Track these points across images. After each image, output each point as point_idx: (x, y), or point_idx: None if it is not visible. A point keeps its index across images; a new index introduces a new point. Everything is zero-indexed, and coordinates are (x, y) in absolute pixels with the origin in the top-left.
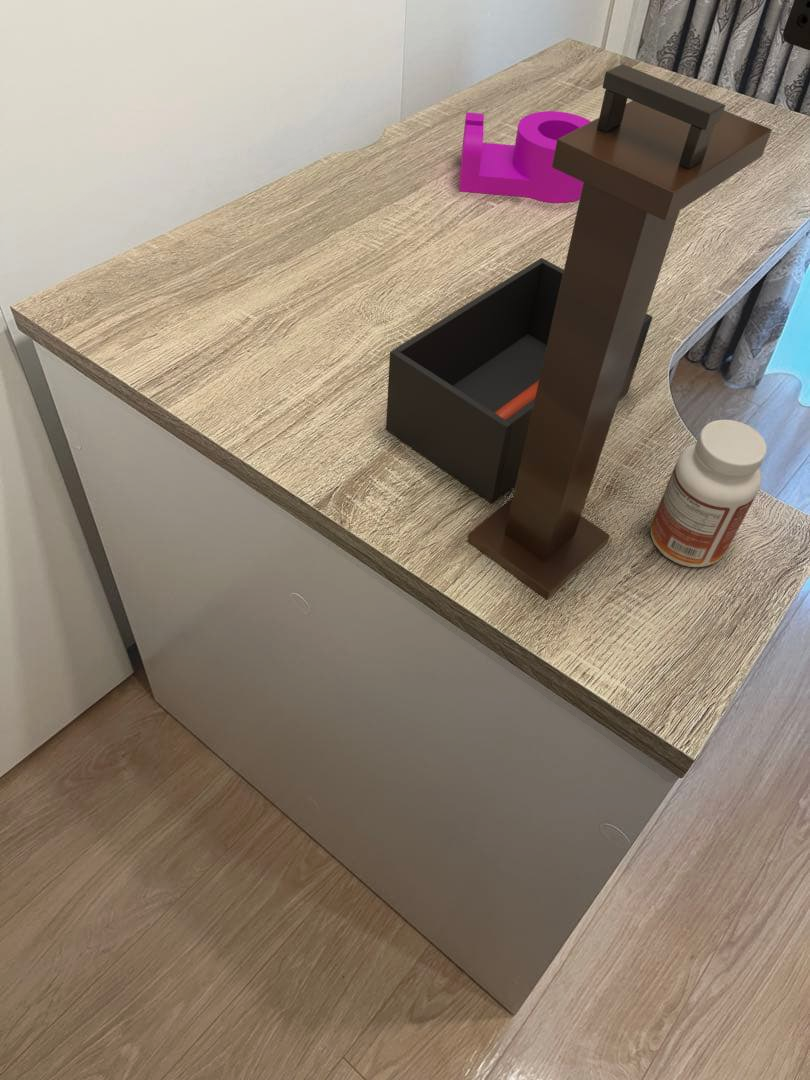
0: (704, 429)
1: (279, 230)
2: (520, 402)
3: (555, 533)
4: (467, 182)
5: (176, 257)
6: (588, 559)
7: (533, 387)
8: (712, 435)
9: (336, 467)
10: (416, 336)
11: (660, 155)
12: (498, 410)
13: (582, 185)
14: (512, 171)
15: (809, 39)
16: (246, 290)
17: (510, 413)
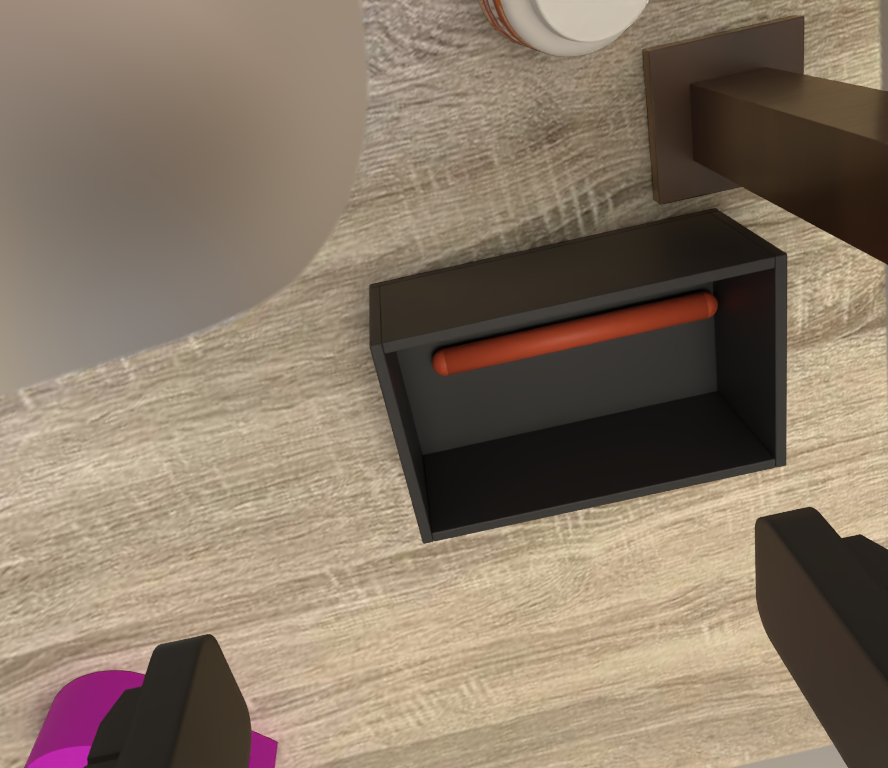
0: (612, 33)
1: (561, 748)
2: (571, 335)
3: (786, 74)
4: (266, 751)
5: (701, 744)
6: (695, 38)
7: (531, 351)
8: (614, 11)
9: (819, 366)
10: (732, 475)
11: None
12: (609, 338)
13: (95, 690)
14: None
15: (867, 539)
16: (676, 670)
17: (598, 325)
